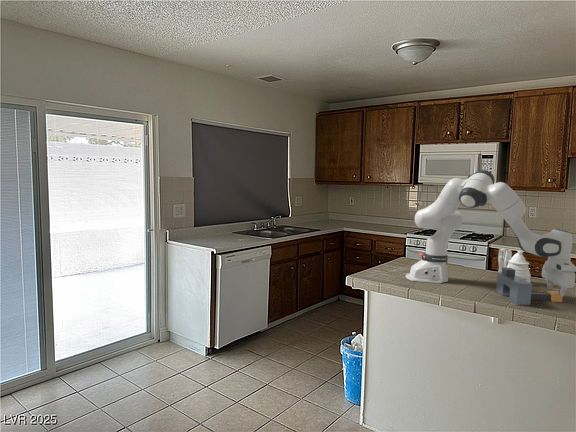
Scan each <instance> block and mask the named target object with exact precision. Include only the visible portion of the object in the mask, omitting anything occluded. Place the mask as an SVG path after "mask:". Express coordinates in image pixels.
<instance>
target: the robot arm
mask: <svg viewBox="0 0 576 432" xmlns="http://www.w3.org/2000/svg"><path fill="white" fill-rule="evenodd" d="M494 176H495V175H494V174H493V173H492V172H490V171H489V170H486V169H481V170H477V171H476V172H474V173H472V174H469V175H468V176H467V178H466V179H462V178H460V177H455V178H454V177H453V178H451V179H450V180H448V181H447V182H446V184H445V185H444V187H443V188H442V190H441V191H440V193H439V195H438V197H437V198H436V199H435V200H434V202H433V203H431V204H430V205H428V206H426V207H424V208H422V209H418V211H416V213H415V215H414V223H415V225H416V226H417V227H418V228H420V229H425V230H426V229H427V230H436V232H435V233H434V234H433V235H430V236H429V237H428V238H427V239H426V241H425V242H426V243H425V244H426V246H425V253H424V252H420V253H419V257H421V259H420V260H419V261H418V262H416V263H414V264H412V265H411V267H410V271H409V272H407V273H406V274H405V278H406V279H408V280H409V281H413V282H420V283H430V284H431V283H432V284H443V283H446V282H448V281H449V277H448V270H447V265H448V261H449V260H448V257H449V256H448V247H449V241H450V238H451V236H452V235H453V234H454V232H455V231H456V230H458V229H459V228H460V227H461V226H462V224H463V220H464V218H463V214H462V213H461V212H460V211H458V209H459V207H460V206H461V205H462V206H463V207H465V208H468V209H475V208H477V207H484V206H485V205H486V204H487V203H490V204H491V205H492V206H493V208H494V210H496V213H498V214H499V215H500V216H501V217H502V219H503V220H504V221H505V222H506V224H507V226H508V227H509V228H510V230H511V231H512V233H513V234H514V236H515V237H516V239H517V242H518V247H519V248H520V250H521V251H523V253H524V252H525V253H528V254H532V255H535V256H537V257H542V258H547V260H545V262H544V264H543V266H542V270H541V277H542V278H543V279H545V280H546V285H547V286H546V287H547V288H546V289H548V291H553V289H554V286H553V284H555V285H558V286H560V290H559V291H558V292H559V295H561V296H563V297H564V296H566V295H565V294H566V292H567V290H568V289H573V288H574V287H575V284H576V273H575V272H576V265H575V264H573V262H572V261H571V259H572V258H571V252H572V249H573V235H572V233H571V232H570V231H568V230H563V229H558V228H554V229H551V231H549V232H547V233H544V234H542V235H541V234H538V233H535V232H532V231H531V230H530V229H529V228H528V226H527V225H526V224H525V222H524V221H523V220H522V218H523V217H524V216H525V214H526V211H527V208H526V205H525V203H524V202H523V200H522V198H521V197H520V196H519V195H518V194H517V192H515V190H513V188H511V187H510V186H509V185H508V184H507V183H506V182H502V181H499V182H495V181H496V180H495V177H494Z"/></svg>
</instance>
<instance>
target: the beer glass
mask: <svg viewBox="0 0 576 432" xmlns="http://www.w3.org/2000/svg"><path fill="white" fill-rule="evenodd" d="M497 255H498V256H497V261H498V271H497V273H498V272H502V267H507V266H508V264H509V262H508V261H509V260H511V258H512V257H513V256H512V255H513V253H512V249H508V248H499V249H498V254H497Z"/></svg>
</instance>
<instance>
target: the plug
mask: <svg viewBox="0 0 576 432" xmlns="http://www.w3.org/2000/svg"><path fill="white" fill-rule="evenodd" d="M563 297H564V296H561V295H559V291H558V290H546V292H545V293H544V292H531V301H548V302H549V301H550V302H554V303H562V302H563Z"/></svg>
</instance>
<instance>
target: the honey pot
mask: <svg viewBox="0 0 576 432" xmlns="http://www.w3.org/2000/svg"><path fill="white" fill-rule="evenodd" d="M523 254H524V251H523V250H517V253H515V254H514V255H513V256H512V258H511V260H509V261H508V262H509V264H508V266H507V268H512V269H514V270H515V275H516V276H518V277H519V278H521V279H523V280H525V281H527V282H529V283H531V276H532V275H531V272H530V268H529V265H530V262H529V261H527V260H526V257H525V256H524V255H523Z"/></svg>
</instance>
